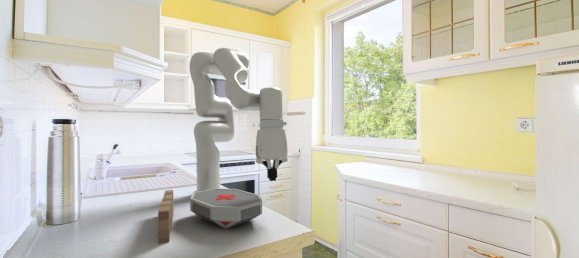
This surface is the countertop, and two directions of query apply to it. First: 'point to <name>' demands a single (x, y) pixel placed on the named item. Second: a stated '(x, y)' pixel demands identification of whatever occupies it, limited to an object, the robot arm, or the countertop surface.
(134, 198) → the countertop surface
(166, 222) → the walnut board
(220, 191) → the first aid kit
